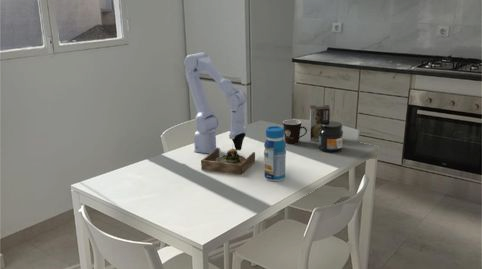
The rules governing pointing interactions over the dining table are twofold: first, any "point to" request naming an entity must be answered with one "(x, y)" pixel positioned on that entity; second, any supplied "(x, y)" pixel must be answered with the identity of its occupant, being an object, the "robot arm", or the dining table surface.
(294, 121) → the coffee mug
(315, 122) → the coffee box
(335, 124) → the supplement container
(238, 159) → the burger
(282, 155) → the beverage bottle
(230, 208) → the dining table surface
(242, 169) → the box
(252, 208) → the dining table surface
